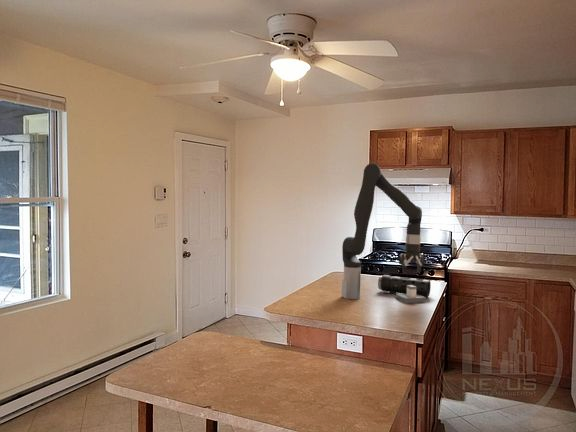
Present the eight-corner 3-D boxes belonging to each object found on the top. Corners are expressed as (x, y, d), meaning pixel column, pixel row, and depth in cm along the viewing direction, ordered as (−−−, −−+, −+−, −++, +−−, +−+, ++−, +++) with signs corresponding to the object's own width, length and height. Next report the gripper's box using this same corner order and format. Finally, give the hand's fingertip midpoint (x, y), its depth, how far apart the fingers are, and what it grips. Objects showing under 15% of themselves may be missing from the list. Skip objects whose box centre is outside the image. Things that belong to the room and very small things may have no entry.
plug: (410, 301, 231) (411, 286, 231) (406, 299, 236) (406, 285, 235) (415, 301, 232) (416, 286, 232) (411, 299, 236) (412, 285, 236)
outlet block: (406, 303, 228) (406, 298, 228) (396, 298, 237) (396, 294, 237) (425, 302, 231) (425, 297, 231) (414, 297, 241) (415, 293, 241)
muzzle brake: (426, 299, 237) (427, 281, 236) (377, 293, 251) (377, 275, 250) (430, 296, 245) (431, 278, 245) (382, 290, 259) (382, 273, 258)
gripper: (405, 243, 227) (403, 274, 227) (428, 243, 231) (427, 273, 231) (397, 242, 234) (396, 271, 234) (420, 242, 238) (419, 271, 238)
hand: (411, 272), depth 233 cm, fingers open, 8 cm apart
